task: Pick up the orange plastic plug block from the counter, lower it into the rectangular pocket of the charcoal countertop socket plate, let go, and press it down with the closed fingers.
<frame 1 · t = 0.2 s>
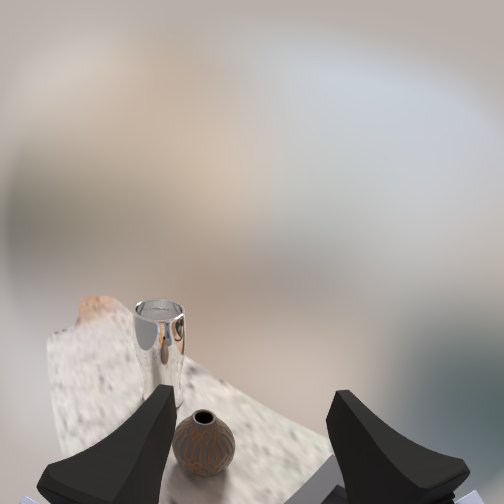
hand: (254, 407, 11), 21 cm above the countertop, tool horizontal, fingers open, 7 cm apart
vase: (203, 462, 26), on the countertop
metal tumbler: (163, 398, 36), on the countertop
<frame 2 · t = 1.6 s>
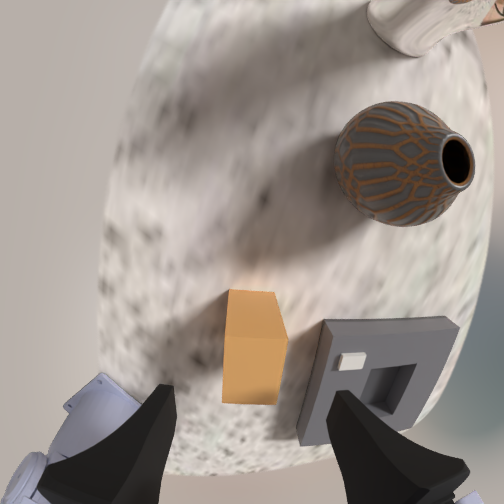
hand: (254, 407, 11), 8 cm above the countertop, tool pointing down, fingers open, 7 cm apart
plug: (249, 320, 19), on the countertop
vase: (368, 165, 17), on the countertop
metal tumbler: (398, 27, 14), on the countertop
socket: (373, 378, 21), on the countertop
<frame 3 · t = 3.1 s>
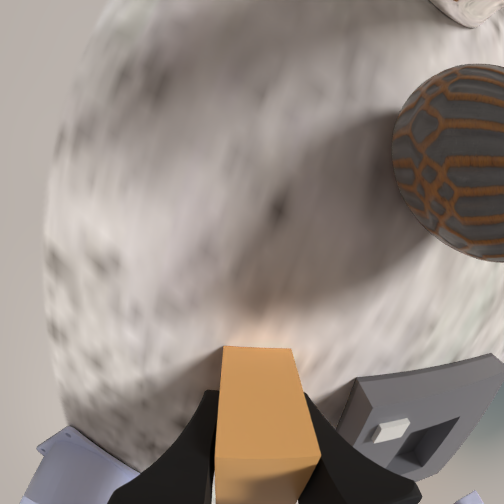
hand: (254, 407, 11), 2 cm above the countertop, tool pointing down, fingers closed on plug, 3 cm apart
plug: (253, 384, 12), on the countertop, touching gripper
vase: (428, 162, 10), on the countertop
socket: (404, 430, 14), on the countertop
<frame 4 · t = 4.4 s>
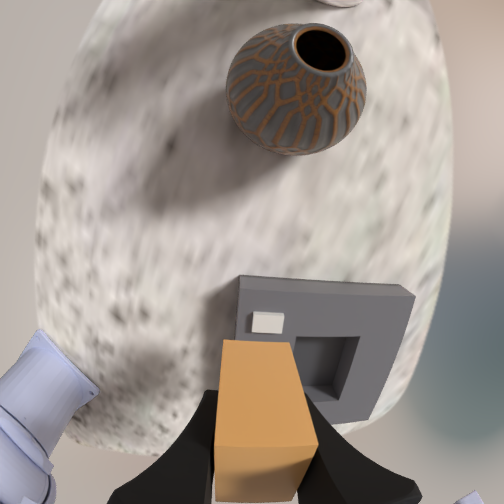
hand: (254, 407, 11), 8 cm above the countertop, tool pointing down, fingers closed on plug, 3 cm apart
plug: (252, 378, 13), point 6 cm above the countertop, touching gripper
vase: (283, 108, 16), on the countertop
socket: (312, 354, 20), on the countertop
when the fingers open (3 cm above the countertop, at t = 6.1 s): plug stays where it is, resting on socket.
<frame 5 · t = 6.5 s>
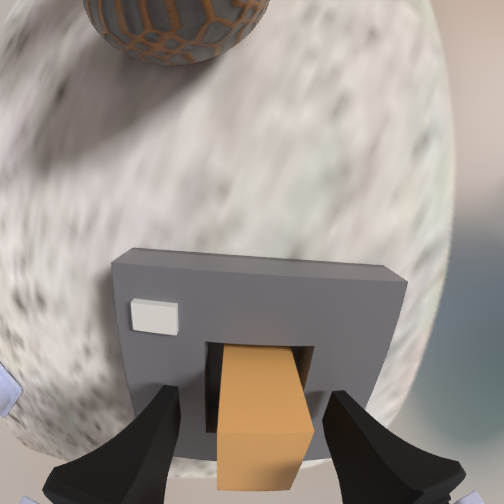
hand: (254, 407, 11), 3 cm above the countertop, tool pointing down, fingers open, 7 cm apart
plug: (252, 372, 14), resting on socket
vase: (193, 26, 10), on the countertop
socket: (252, 367, 14), on the countertop
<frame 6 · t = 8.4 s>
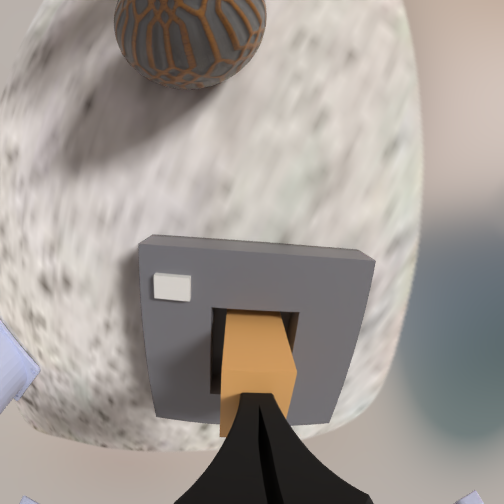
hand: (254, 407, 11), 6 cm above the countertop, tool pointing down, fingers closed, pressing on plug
plug: (250, 340, 17), resting on socket, touching gripper
vase: (200, 52, 13), on the countertop
socket: (249, 336, 17), on the countertop
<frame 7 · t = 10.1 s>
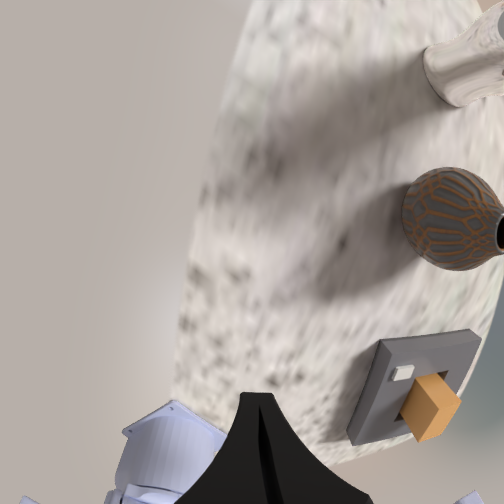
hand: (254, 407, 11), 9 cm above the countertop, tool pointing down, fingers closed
plug: (413, 386, 23), resting on socket
vase: (422, 211, 19), on the countertop
metal tumbler: (446, 76, 16), on the countertop
socket: (411, 383, 23), on the countertop
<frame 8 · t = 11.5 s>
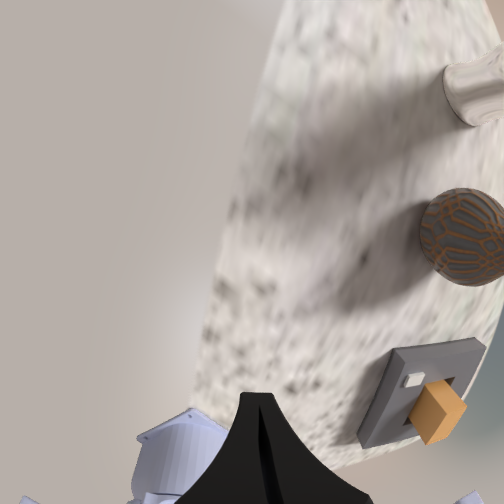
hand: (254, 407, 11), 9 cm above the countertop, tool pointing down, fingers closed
plug: (420, 391, 23), resting on socket
vase: (437, 227, 19), on the countertop
metal tumbler: (463, 95, 16), on the countertop
socket: (419, 389, 23), on the countertop
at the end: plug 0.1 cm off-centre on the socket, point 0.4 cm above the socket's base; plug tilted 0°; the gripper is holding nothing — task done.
